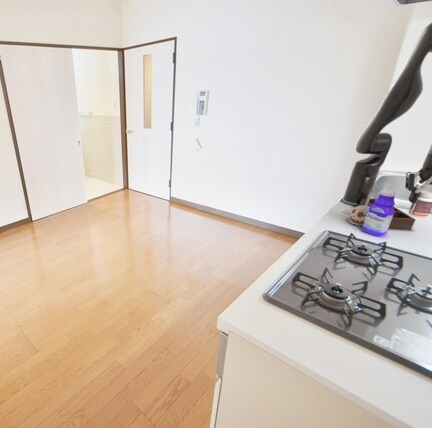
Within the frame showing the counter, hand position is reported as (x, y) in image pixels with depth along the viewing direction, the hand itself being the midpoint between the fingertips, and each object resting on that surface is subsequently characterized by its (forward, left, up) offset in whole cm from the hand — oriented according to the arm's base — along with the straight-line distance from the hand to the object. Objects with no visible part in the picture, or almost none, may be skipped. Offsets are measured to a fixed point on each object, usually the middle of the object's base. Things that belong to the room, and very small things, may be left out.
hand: (422, 203), depth 93 cm
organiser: (-26, +3, -17) cm, 31 cm away
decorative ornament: (-17, -8, -17) cm, 26 cm away
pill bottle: (0, 0, -5) cm, 5 cm away
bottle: (-9, -6, -17) cm, 20 cm away
